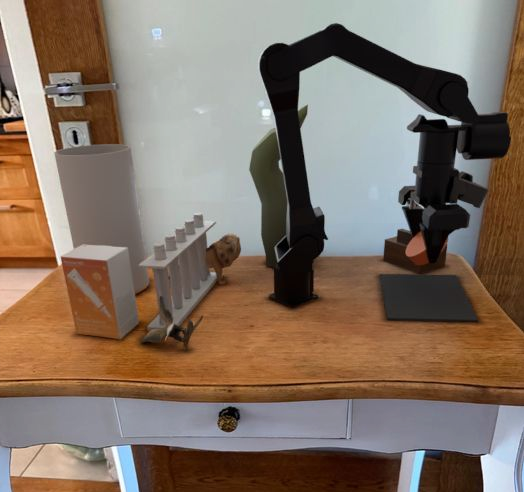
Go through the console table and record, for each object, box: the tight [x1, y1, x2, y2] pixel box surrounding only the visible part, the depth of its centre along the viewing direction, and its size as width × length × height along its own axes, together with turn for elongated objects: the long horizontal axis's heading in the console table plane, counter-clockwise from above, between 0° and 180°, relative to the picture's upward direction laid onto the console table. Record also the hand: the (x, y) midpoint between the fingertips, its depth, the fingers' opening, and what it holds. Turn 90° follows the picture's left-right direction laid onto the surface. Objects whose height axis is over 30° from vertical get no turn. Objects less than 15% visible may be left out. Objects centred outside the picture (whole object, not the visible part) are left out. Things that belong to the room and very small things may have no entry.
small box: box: [60, 245, 140, 340], centre depth 86 cm, size 8×6×13 cm
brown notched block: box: [382, 228, 448, 275], centre depth 110 cm, size 7×10×7 cm
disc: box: [405, 231, 449, 266], centre depth 94 cm, size 2×7×7 cm
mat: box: [379, 273, 479, 323], centre depth 96 cm, size 20×14×1 cm
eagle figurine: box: [140, 296, 204, 351], centre depth 83 cm, size 8×7×9 cm
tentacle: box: [248, 104, 309, 268], centre depth 107 cm, size 9×12×30 cm
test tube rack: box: [138, 212, 218, 332], centre depth 95 cm, size 25×4×13 cm, turn 166°
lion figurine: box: [169, 233, 242, 286], centre depth 105 cm, size 15×5×9 cm, turn 91°
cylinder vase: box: [53, 143, 150, 295], centre depth 99 cm, size 12×12×25 cm
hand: (425, 256), depth 95 cm, fingers closed on disc, 7 cm apart
